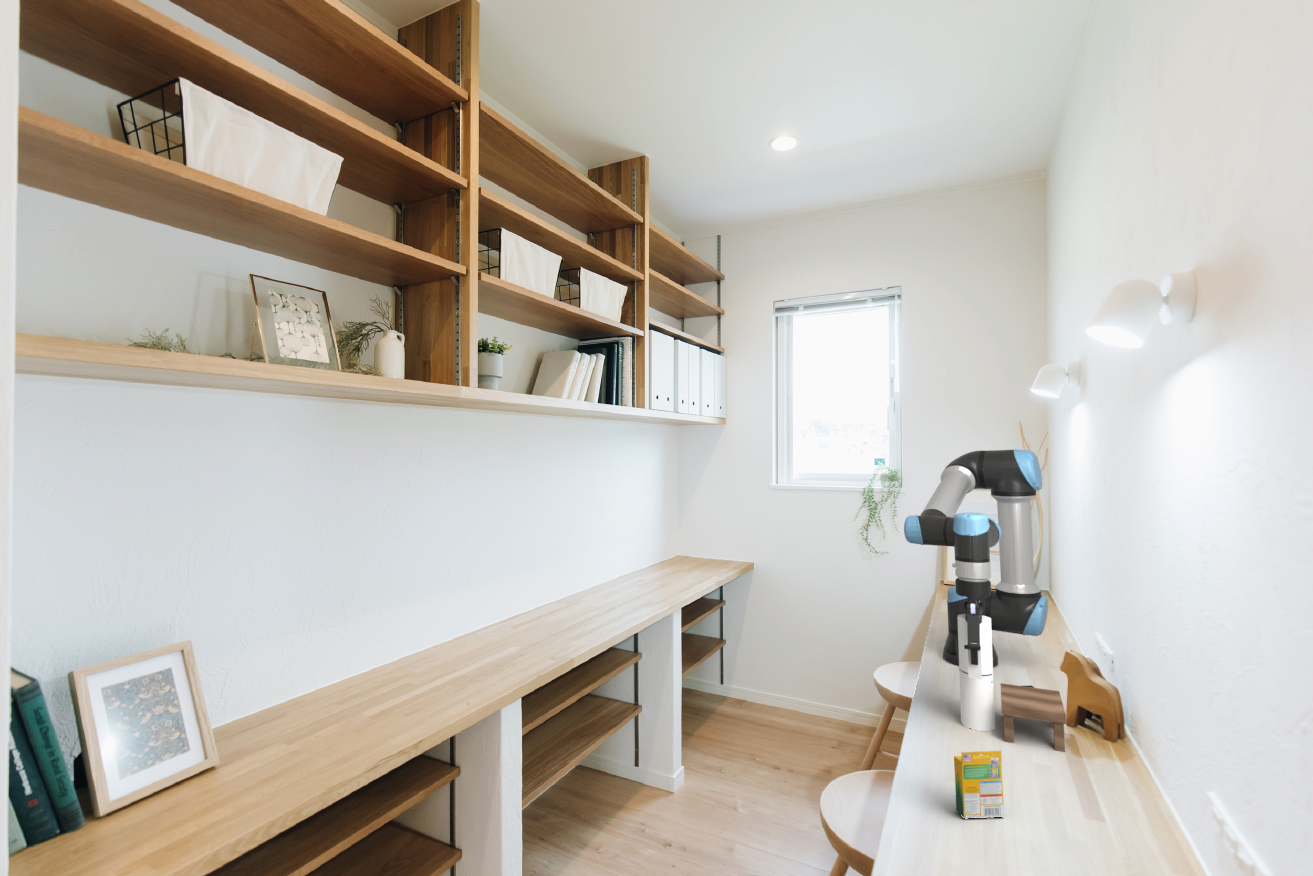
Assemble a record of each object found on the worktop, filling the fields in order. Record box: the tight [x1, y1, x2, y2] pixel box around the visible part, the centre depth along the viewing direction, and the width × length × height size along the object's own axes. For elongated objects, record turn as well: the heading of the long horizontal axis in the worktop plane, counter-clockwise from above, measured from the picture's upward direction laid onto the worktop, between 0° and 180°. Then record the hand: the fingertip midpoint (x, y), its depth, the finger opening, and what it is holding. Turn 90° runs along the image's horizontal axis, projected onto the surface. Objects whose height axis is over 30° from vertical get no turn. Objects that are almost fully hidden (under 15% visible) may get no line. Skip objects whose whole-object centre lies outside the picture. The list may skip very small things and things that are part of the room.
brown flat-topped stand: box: [1000, 682, 1067, 753], centre depth 142 cm, size 15×12×8 cm
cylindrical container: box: [957, 614, 996, 732], centre depth 148 cm, size 7×7×25 cm
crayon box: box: [953, 750, 1005, 818], centre depth 111 cm, size 7×3×12 cm, turn 92°
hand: (975, 669), depth 147 cm, fingers open, 13 cm apart
